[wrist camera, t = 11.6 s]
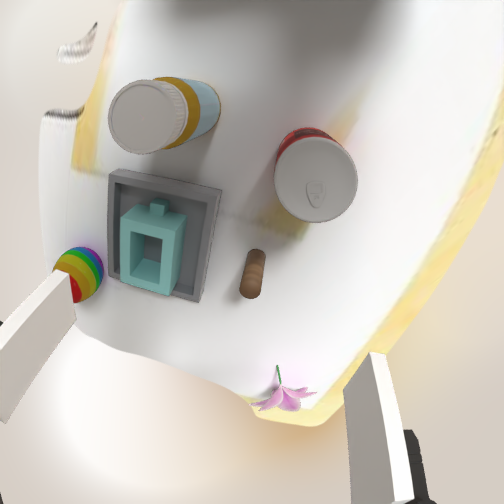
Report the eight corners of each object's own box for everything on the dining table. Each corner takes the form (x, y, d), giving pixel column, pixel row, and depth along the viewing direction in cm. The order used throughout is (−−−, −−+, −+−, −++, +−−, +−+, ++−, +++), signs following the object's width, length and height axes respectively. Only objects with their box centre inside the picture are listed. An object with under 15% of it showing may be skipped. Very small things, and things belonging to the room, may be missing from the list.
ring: (134, 263, 45) (120, 281, 41) (138, 193, 39) (121, 206, 35) (179, 276, 45) (169, 296, 41) (189, 205, 39) (176, 219, 35)
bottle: (228, 126, 35) (193, 144, 22) (176, 142, 36) (118, 170, 23) (213, 73, 32) (167, 60, 19) (161, 92, 33) (94, 96, 20)
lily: (242, 378, 58) (249, 423, 52) (250, 362, 48) (260, 417, 43) (299, 370, 60) (308, 413, 55) (317, 352, 51) (330, 403, 45)
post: (249, 247, 42) (241, 279, 35) (267, 251, 42) (262, 284, 35) (245, 262, 44) (237, 295, 37) (263, 266, 44) (257, 300, 37)
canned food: (290, 197, 38) (291, 234, 29) (266, 139, 35) (259, 155, 26) (347, 178, 36) (368, 209, 27) (326, 118, 33) (342, 126, 23)
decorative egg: (64, 248, 46) (30, 279, 38) (93, 234, 44) (57, 265, 35) (87, 286, 50) (58, 320, 41) (117, 275, 48) (88, 312, 39)
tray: (119, 168, 39) (108, 173, 36) (221, 190, 39) (217, 197, 36) (116, 266, 47) (108, 276, 44) (203, 291, 47) (198, 302, 44)
